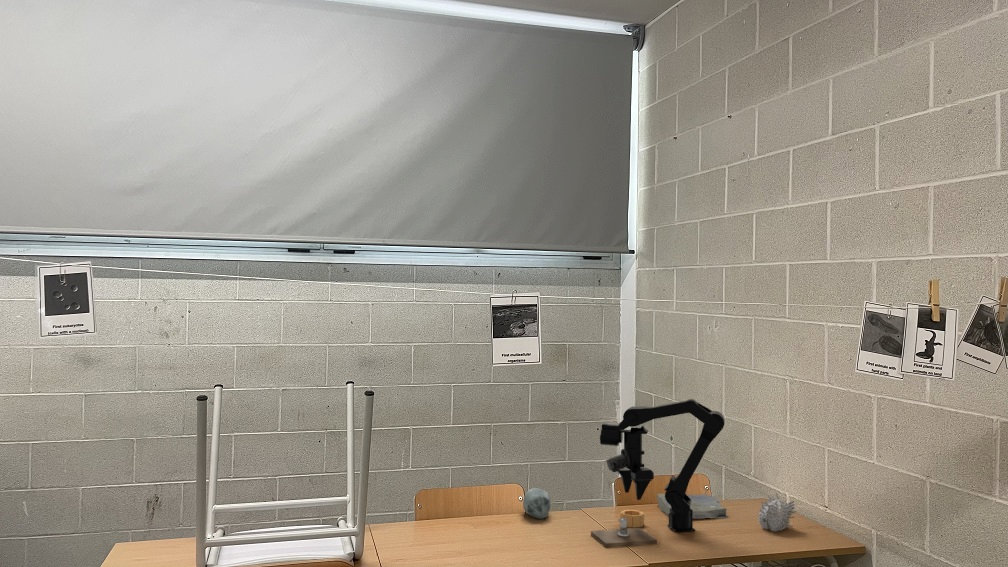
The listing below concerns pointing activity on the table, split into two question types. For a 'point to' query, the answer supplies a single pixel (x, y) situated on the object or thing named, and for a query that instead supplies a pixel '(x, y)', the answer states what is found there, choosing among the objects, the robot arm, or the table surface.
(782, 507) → the sea urchin
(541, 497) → the grey rounded lump
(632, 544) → the shelf board
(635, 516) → the tan wooden ring
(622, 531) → the hook post
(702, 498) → the fossil
